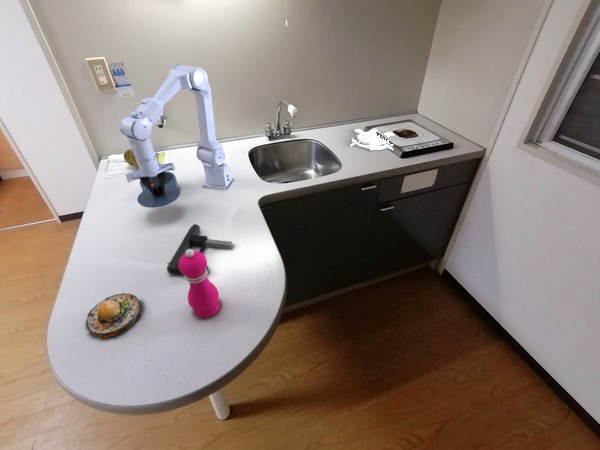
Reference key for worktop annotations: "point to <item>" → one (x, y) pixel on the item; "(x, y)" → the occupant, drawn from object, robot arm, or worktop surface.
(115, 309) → the burger on plate
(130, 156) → the potato
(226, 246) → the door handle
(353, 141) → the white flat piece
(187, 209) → the worktop surface
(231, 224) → the worktop surface
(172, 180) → the pot
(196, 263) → the pepper mill
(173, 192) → the lid
